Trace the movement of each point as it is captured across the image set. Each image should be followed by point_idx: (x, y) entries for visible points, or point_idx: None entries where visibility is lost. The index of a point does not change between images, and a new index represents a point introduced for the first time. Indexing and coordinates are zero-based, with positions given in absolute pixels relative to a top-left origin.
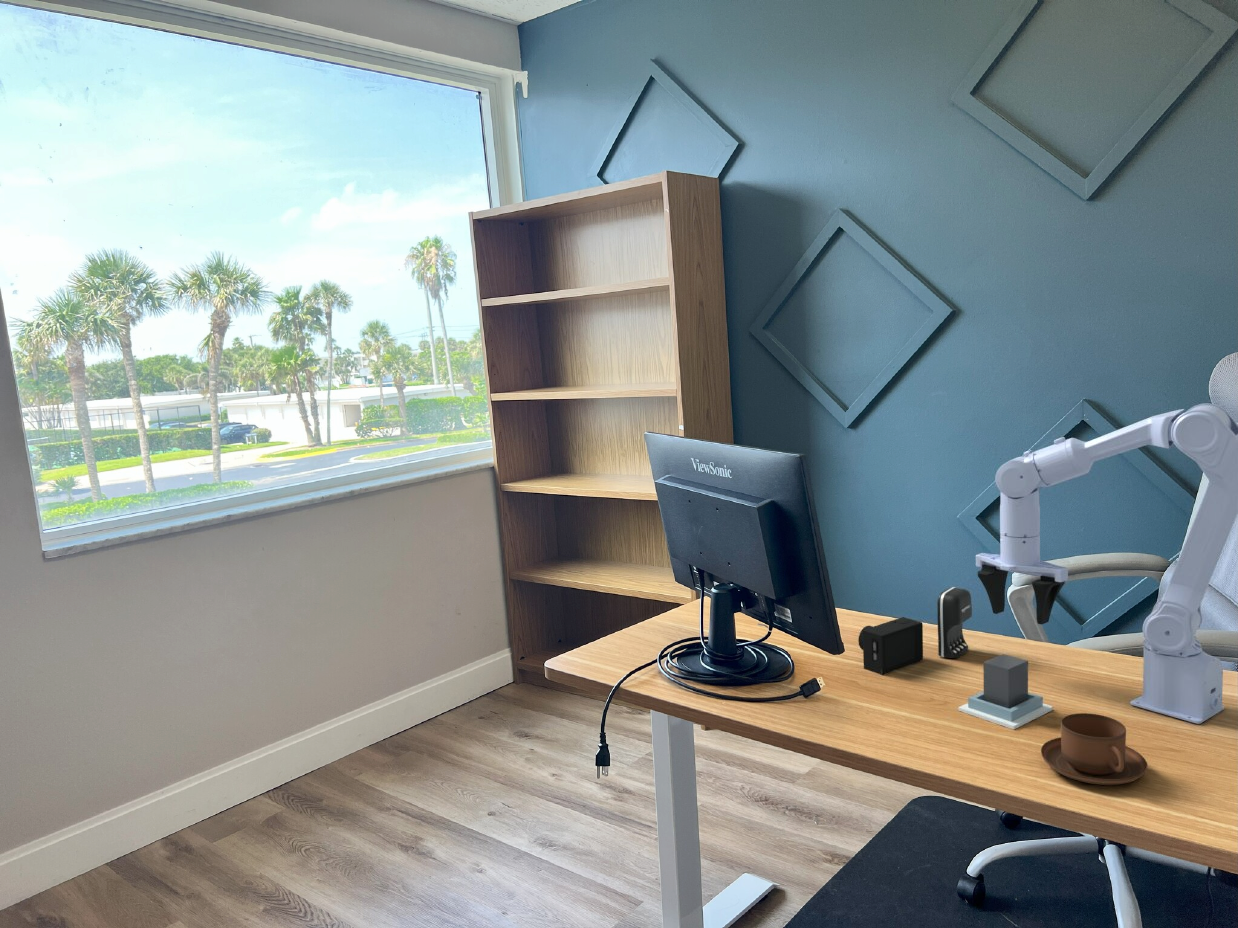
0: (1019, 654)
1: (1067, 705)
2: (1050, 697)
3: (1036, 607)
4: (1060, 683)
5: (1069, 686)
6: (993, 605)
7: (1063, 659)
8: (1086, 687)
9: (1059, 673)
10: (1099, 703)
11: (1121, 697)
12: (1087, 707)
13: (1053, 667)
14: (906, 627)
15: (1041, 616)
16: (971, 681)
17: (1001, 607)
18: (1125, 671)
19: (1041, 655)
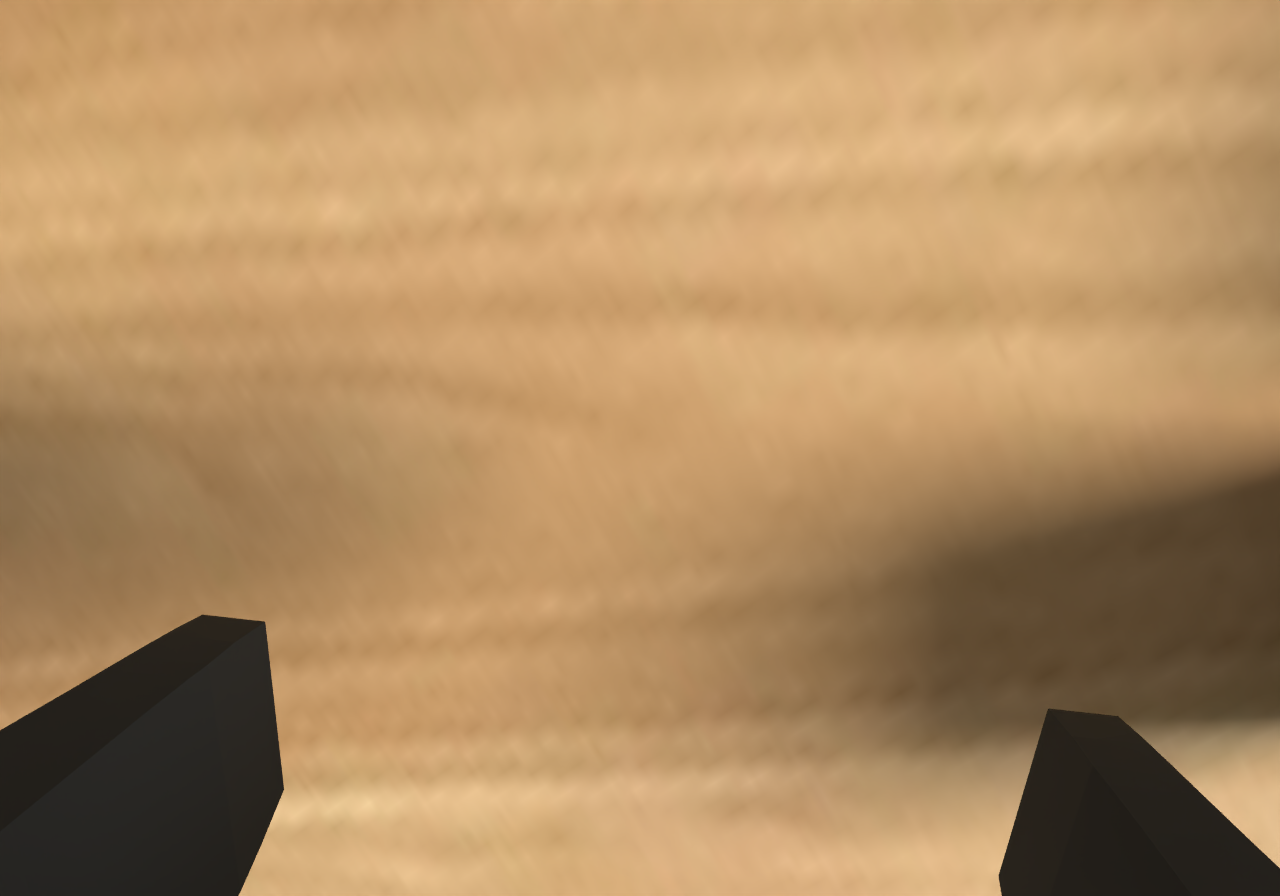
0: (938, 814)
1: (147, 100)
2: (328, 172)
3: (47, 792)
4: (439, 485)
5: (364, 470)
6: (1159, 802)
7: (656, 872)
8: (279, 522)
9: (546, 649)
10: (42, 301)
11: (35, 494)
12: (38, 168)
13: (634, 723)
14: None
15: (84, 682)
16: (1025, 51)
17: (1036, 894)
18: (287, 876)
19: (803, 866)
